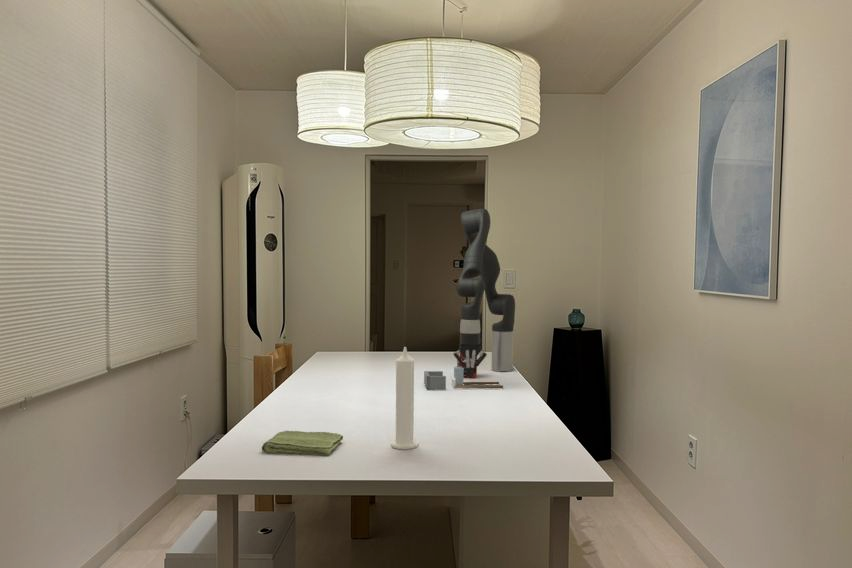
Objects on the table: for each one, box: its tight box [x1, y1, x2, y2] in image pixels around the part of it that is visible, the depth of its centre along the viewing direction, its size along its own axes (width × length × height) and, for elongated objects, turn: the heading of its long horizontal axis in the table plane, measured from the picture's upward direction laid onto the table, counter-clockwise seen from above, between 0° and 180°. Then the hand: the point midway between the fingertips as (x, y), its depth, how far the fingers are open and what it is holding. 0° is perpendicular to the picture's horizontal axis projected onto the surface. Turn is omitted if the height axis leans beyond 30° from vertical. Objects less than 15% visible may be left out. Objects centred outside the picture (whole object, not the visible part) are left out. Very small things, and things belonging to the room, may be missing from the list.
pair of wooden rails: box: [454, 381, 504, 389], centre depth 226 cm, size 8×18×1 cm, turn 95°
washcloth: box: [261, 430, 344, 456], centre depth 149 cm, size 13×18×3 cm
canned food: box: [456, 353, 478, 379], centre depth 244 cm, size 8×8×11 cm
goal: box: [423, 370, 447, 391], centre depth 224 cm, size 11×7×5 cm, turn 5°
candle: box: [390, 346, 419, 451], centre depth 151 cm, size 7×7×25 cm
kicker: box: [451, 366, 464, 389], centre depth 225 cm, size 5×4×7 cm
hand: (469, 377), depth 225 cm, fingers closed
